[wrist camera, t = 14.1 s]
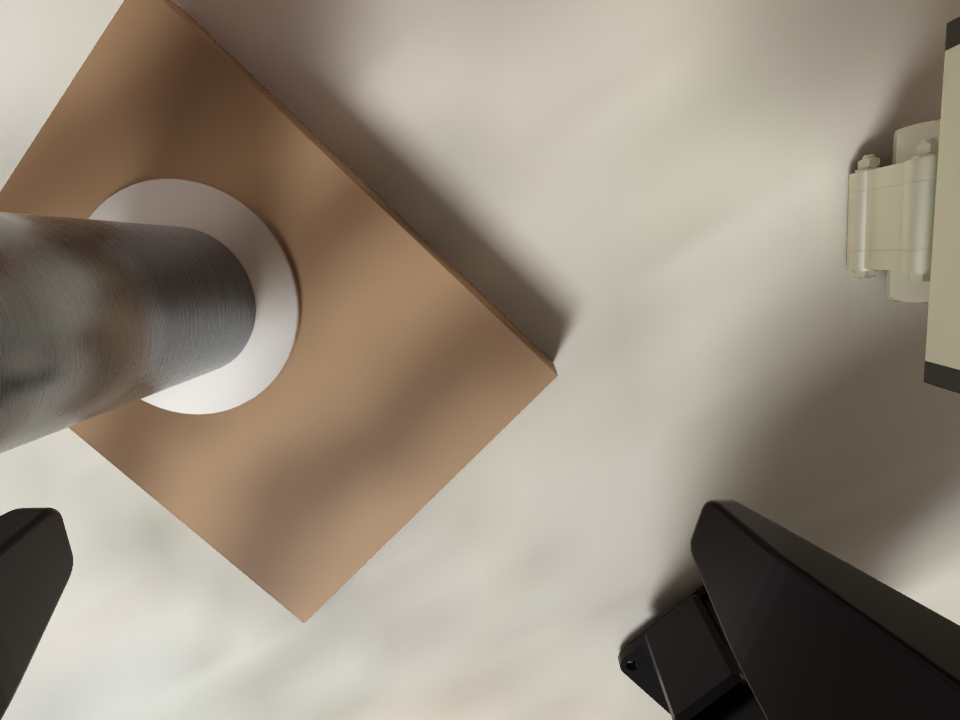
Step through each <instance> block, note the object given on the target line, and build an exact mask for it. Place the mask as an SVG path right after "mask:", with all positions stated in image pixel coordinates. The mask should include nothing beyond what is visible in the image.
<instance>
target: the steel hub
mask: <svg viewBox="0 0 960 720" xmlns="http://www.w3.org/2000/svg"><path fill="white" fill-rule="evenodd" d="M255 315H256V305H255V296H254V291H253V288H252V285H251V282H250V279H249V277H248V275H247V272H246V270H245V269H244V267H243V266H242V264H241V262H240V261H239V260H238V259H237V257H236V256H235V255H234V254H233V253H232V252H231V251H230V250H229V249H228V248H227V247H226V246H225V245H224V244H222V243H221V242H220V241H219V240H217V239H215V238H214V237H212V236H210V235H208V234H206V233H204V232H202V231H199V230H195V229H192V228H187V227H179V226H167V225H154V224H142V223H130V222H118V221H105V220H93V219H81V218H68V217H56V216H44V215H31V214H19V213H7V212H0V453H3V452H5V451H8V450H10V449H13V448H15V447H18V446H21V445H23V444H26V443H28V442H31V441H34V440H36V439H39V438H41V437H44V436H46V435H49V434H52V433H54V432H57V431H59V430H62V429H65V428H67V427H70V426H72V425H75V424H77V423H80V422H83V421H85V420H88V419H90V418H93V417H95V416H98V415H101V414H103V413H106V412H108V411H111V410H114V409H116V408H119V407H121V406H124V405H126V404H129V403H132V402H134V401H137V400H139V399H142V398H144V397H147V396H150V395H152V394H155V393H157V392H160V391H163V390H165V389H168V388H170V387H173V386H175V385H178V384H181V383H183V382H186V381H188V380H191V379H194V378H196V377H199V376H201V375H204V374H206V373H209V372H212V371H214V370H217V369H219V368H222V367H223V366H225V365H227V364H229V363H230V362H231V361H232V360H234V359H235V358H236V357H237V356H238V355H239V354H240V353H241V352H242V350H243V349H244V347H245V346H246V345H247V343H248V341H249V339H250V337H251V334H252V331H253V328H254V323H255Z"/></svg>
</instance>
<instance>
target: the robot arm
mask: <svg viewBox="0 0 960 720" xmlns="http://www.w3.org/2000/svg"><path fill="white" fill-rule="evenodd" d="M691 552H692V556H693V559H694V561H695V563H696V566H697V568H698V571H699V573H700V576H701V578H702V581H703V583H704V585H703V586H702V587H700V588H699V589H698V590H697V591H696V592H694V593H693V594H692V595H691V596H689V597H688V598H687V599H686V600H684V601H683V602H682V603H681V604H679V605H678V606H677V607H676V608H674V609H673V610H672V611H671V612H669V613H668V614H667V615H666V616H664V617H663V618H662V619H661V620H659V621H658V622H657V623H656V624H654V625H653V626H652V627H651V628H649V629H648V630H647V631H646V632H644V633H643V634H642V635H641V636H639V637H638V638H637V639H636V640H634V641H633V642H632V643H631V644H629V645H628V646H627V647H626V648H624V649H623V650H622V651H621V652H620V653H619V656H618V659H619V664H620V668H621V670H622V671H623V673H625V674H626V675H627V676H628V677H629V678H630V679H631V680H632V681H634V682H635V683H636V684H637V685H638V686H639V687H640V688H641V689H643V690H644V691H645V692H646V693H647V694H648V695H649V696H650V697H652V698H653V699H654V700H655V701H656V702H657V703H658V704H659V705H661V706H662V707H663V708H664V709H665V710H666V711H667V712H668V713H670V714H671V716H672V719H673V720H960V626H959V625H957V624H956V623H954V622H952V621H950V620H948V619H947V618H945V617H943V616H941V615H939V614H938V613H936V612H934V611H932V610H930V609H929V608H927V607H925V606H923V605H921V604H920V603H918V602H916V601H914V600H912V599H911V598H909V597H907V596H905V595H903V594H902V593H900V592H898V591H896V590H894V589H893V588H891V587H889V586H887V585H885V584H884V583H882V582H880V581H878V580H876V579H875V578H873V577H871V576H869V575H868V574H866V573H864V572H862V571H860V570H859V569H857V568H855V567H853V566H851V565H850V564H848V563H846V562H844V561H842V560H841V559H839V558H837V557H835V556H833V555H832V554H830V553H828V552H826V551H824V550H823V549H821V548H819V547H817V546H815V545H814V544H812V543H810V542H808V541H806V540H805V539H803V538H801V537H799V536H797V535H796V534H794V533H792V532H790V531H788V530H787V529H785V528H783V527H781V526H779V525H778V524H776V523H774V522H772V521H771V520H769V519H767V518H765V517H763V516H762V515H760V514H758V513H756V512H754V511H753V510H751V509H749V508H747V507H745V506H744V505H742V504H740V503H738V502H736V501H733V500H710V501H708V502H707V503H706V504H705V505H704V506H703V508H702V511H701V513H700V516H699V519H698V521H697V524H696V527H695V530H694V532H693V535H692V538H691ZM72 567H73V555H72V551H71V547H70V544H69V540H68V537H67V533H66V530H65V526H64V523H63V519H62V516H61V514H60V513H59V512H58V511H57V510H56V509H53V508H20V509H15V510H12V511H10V512H8V513H6V514H4V515H2V516H0V720H1V719H2V717H3V715H4V713H5V711H6V710H7V708H8V706H9V704H10V702H11V700H12V698H13V696H14V694H15V692H16V690H17V688H18V686H19V684H20V682H21V680H22V678H23V676H24V674H25V672H26V670H27V667H28V665H29V663H30V661H31V659H32V657H33V655H34V652H35V650H36V648H37V646H38V644H39V642H40V640H41V637H42V635H43V633H44V631H45V629H46V627H47V625H48V622H49V620H50V618H51V616H52V614H53V612H54V610H55V607H56V605H57V603H58V601H59V599H60V597H61V595H62V593H63V590H64V588H65V586H66V584H67V582H68V580H69V577H70V575H71V571H72ZM630 660H635V662H633V663H628V661H630Z"/></svg>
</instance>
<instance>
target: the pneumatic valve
mask: <svg viewBox="0 0 960 720" xmlns="http://www.w3.org/2000/svg"><path fill="white" fill-rule="evenodd" d="M846 269H852V271H854V278H870V277H875V270H887V283H886V296H887V299H888V300H890V301H896V302H916V303H926V302H929V306H928V321H927V337H926V352H925V368H924V383H928V384H931V385H934V386H937V387H940V388H943V389H947V390H950V391H953V392H956V393H959V394H960V17H958V18H956V19H954V20H952V21H950V22H949V23H947V26H946V42H945V57H944V73H943V89H942V104H941V119H936V120H931V121H927V122H922V123H918V124H914V125H911V126H907V127H904V128H901V129H898V130H896V131H895V134H894V138H893V156H892V165H890V166H885V167H882V166H880V158H875V154H870V155H865V156H863V157H862V160H860V161H858V170H855V173H853V174H849V204H848V236H847V267H846Z"/></svg>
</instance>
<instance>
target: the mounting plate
mask: <svg viewBox="0 0 960 720" xmlns="http://www.w3.org/2000/svg"><path fill="white" fill-rule="evenodd" d="M0 212H7V213H19V214H31V215H44V216H56V217H68V218H81V219H93V220H105V221H118V222H130V223H142V224H154V225H167V226H179V227H187V228H192V229H195V230H199V231H202V232H204V233H206V234H208V235H210V236H212V237H214V238H215V239H217V240H219V241H220V242H221V243H222V244H224V245H225V246H226V247H227V248H228V249H229V250H230V251H231V252H232V253H233V254H234V255H235V256H236V257H237V259H238V260H239V261H240V262H241V264H242V266H243V267H244V269H245V270H246V272H247V275H248V277H249V279H250V282H251V285H252V288H253V291H254V296H255V305H256V315H255V323H254V328H253V331H252V334H251V337H250V339H249V341H248V343H247V345H246V346H245V347H244V349H243V350H242V352H241V353H240V354H239V355H238V356H237V357H236V358H235V359H234V360H232V361H231V362H230V363H229V364H227V365H225V366H223V367H222V368H219V369H217V370H214V371H212V372H209V373H206V374H204V375H201V376H199V377H196V378H194V379H191V380H188V381H186V382H183V383H181V384H178V385H175V386H173V387H170V388H168V389H165V390H163V391H160V392H157V393H155V394H152V395H150V396H147V397H144V398H142V399H139V400H137V401H134V402H132V403H129V404H126V405H124V406H121V407H119V408H116V409H114V410H111V411H108V412H106V413H103V414H101V415H98V416H95V417H93V418H90V419H88V420H85V421H83V422H80V423H77V424H75V425H72V426H70V427H69V428H70V429H71V430H72V431H73V432H75V433H76V434H77V435H78V436H79V437H81V438H82V439H83V440H84V441H85V442H87V443H88V444H89V445H90V446H91V447H93V448H94V449H95V450H96V451H98V452H99V453H100V454H101V455H102V456H104V457H105V458H106V459H107V460H108V461H110V462H111V463H112V464H113V465H114V466H116V467H117V468H118V469H119V470H120V471H122V472H123V473H124V474H125V475H126V476H128V477H129V478H130V479H131V480H132V481H134V482H135V483H136V484H137V485H138V486H140V487H141V488H142V489H143V490H144V491H146V492H147V493H148V494H149V495H150V496H152V497H153V498H154V499H155V500H156V501H158V502H159V503H160V504H161V505H162V506H164V507H165V508H166V509H167V510H168V511H170V512H171V513H172V514H173V515H174V516H176V517H177V518H178V519H179V520H181V521H182V522H183V523H184V524H185V525H187V526H188V527H189V528H190V529H191V530H193V531H194V532H195V533H196V534H197V535H199V536H200V537H201V538H202V539H203V540H205V541H206V542H207V543H208V544H209V545H211V546H212V547H213V548H214V549H215V550H217V551H218V552H219V553H220V554H221V555H223V556H224V557H225V558H226V559H227V560H229V561H230V562H231V563H232V564H233V565H235V566H236V567H237V568H238V569H239V570H241V571H242V572H243V573H244V574H245V575H247V576H248V577H249V578H250V579H251V580H253V581H254V582H255V583H256V584H257V585H259V586H260V587H261V588H262V589H264V590H265V591H266V592H267V593H268V594H270V595H271V596H272V597H273V598H274V599H276V600H277V601H278V602H279V603H280V604H282V605H283V606H284V607H285V608H286V609H288V610H289V611H290V612H291V613H292V614H294V615H295V616H296V617H297V618H298V619H300V620H301V621H302V622H303V623H305V622H306V621H307V620H308V619H309V618H310V617H311V616H312V615H313V614H314V613H315V612H316V611H317V610H318V609H319V608H320V607H322V606H323V605H324V604H325V603H326V602H327V601H328V600H329V599H330V598H331V597H332V596H333V595H334V594H335V593H336V592H337V591H338V590H339V589H340V588H341V587H342V586H343V585H344V584H345V583H346V582H347V581H348V580H349V579H350V578H351V577H352V576H353V575H354V574H355V573H356V572H357V571H358V570H359V569H360V568H361V567H362V566H363V565H364V564H365V563H366V562H368V561H369V560H370V559H371V558H372V557H373V556H374V555H375V554H376V553H377V552H378V551H379V550H380V549H381V548H382V547H383V546H384V545H385V544H386V543H387V542H388V541H389V540H390V539H391V538H392V537H393V536H394V535H395V534H396V533H397V532H398V531H399V530H400V529H401V528H402V527H403V526H404V525H405V524H406V523H407V522H408V521H409V520H410V519H411V518H413V517H414V516H415V515H416V514H417V513H418V512H419V511H420V510H421V509H422V508H423V507H424V506H425V505H426V504H427V503H428V502H429V501H430V500H431V499H432V498H433V497H434V496H435V495H436V494H437V493H438V492H439V491H440V490H441V489H442V488H443V487H444V486H445V485H446V484H447V483H448V482H449V481H450V480H451V479H452V478H453V477H454V476H455V475H456V474H458V473H459V472H460V471H461V470H462V469H463V468H464V467H465V466H466V465H467V464H468V463H469V462H470V461H471V460H472V459H473V458H474V457H475V456H476V455H477V454H478V453H479V452H480V451H481V450H482V449H483V448H484V447H485V446H486V445H487V444H488V443H489V442H490V441H491V440H492V439H493V438H494V437H495V436H496V435H497V434H498V433H499V432H500V431H501V430H502V429H504V428H505V427H506V426H507V425H508V424H509V423H510V422H511V421H512V420H513V419H514V418H515V417H516V416H517V415H518V414H519V413H520V412H521V411H522V410H523V409H524V408H525V407H526V406H527V405H528V404H529V403H530V402H531V401H532V400H533V399H534V398H535V397H536V396H537V395H538V394H539V393H540V392H541V391H542V390H543V389H544V388H545V387H546V386H547V385H549V384H550V383H551V382H552V381H553V380H554V379H555V378H556V377H557V376H558V375H557V372H556V369H555V366H554V363H553V362H552V361H551V360H550V359H549V358H548V357H547V356H545V355H544V354H543V353H542V352H541V351H540V350H539V349H538V348H537V347H536V346H535V345H534V344H533V343H532V342H531V341H530V340H529V339H528V338H527V337H526V336H524V335H523V334H522V333H521V332H520V331H519V330H518V329H517V328H516V327H515V326H514V325H513V324H512V323H511V322H510V321H509V320H508V319H507V318H506V317H505V316H503V315H502V314H501V313H500V312H499V311H498V310H497V309H496V308H495V307H494V306H493V305H492V304H491V303H490V302H489V301H488V300H487V299H486V298H485V297H484V296H482V295H481V294H480V293H479V292H478V291H477V290H476V289H475V288H474V287H473V286H472V285H471V284H470V283H469V282H468V281H467V280H466V279H465V278H464V277H463V276H461V275H460V274H459V273H458V272H457V271H456V270H455V269H454V268H453V267H452V266H451V265H450V264H449V263H448V262H447V261H446V260H445V259H444V258H443V257H442V256H440V255H439V254H438V253H437V252H436V251H435V250H434V249H433V248H432V247H431V246H430V245H429V244H428V243H427V242H426V241H425V240H424V239H423V238H422V237H421V236H420V235H418V234H417V233H416V232H415V231H414V230H413V229H412V228H411V227H410V226H409V225H408V224H407V223H406V222H405V221H404V220H403V219H402V218H401V217H400V216H399V215H397V214H396V213H395V212H394V211H393V210H392V209H391V208H390V207H389V206H388V205H387V204H386V203H385V202H384V201H383V200H382V199H381V198H380V197H379V196H378V195H376V194H375V193H374V192H373V191H372V190H371V189H370V188H369V187H368V186H367V185H366V184H365V183H364V182H363V181H362V180H361V179H360V178H359V177H358V176H357V175H355V174H354V173H353V172H352V171H351V170H350V169H349V168H348V167H347V166H346V165H345V164H344V163H343V162H342V161H341V160H340V159H339V158H338V157H337V156H336V155H334V154H333V153H332V152H331V151H330V150H329V149H328V148H327V147H326V146H325V145H324V144H323V143H322V142H321V141H320V140H319V139H318V138H317V137H316V136H315V135H313V134H312V133H311V132H310V131H309V130H308V129H307V128H306V127H305V126H304V125H303V124H302V123H301V122H300V121H299V120H298V119H297V118H296V117H295V116H294V115H292V114H291V113H290V112H289V111H288V110H287V109H286V108H285V107H284V106H283V105H282V104H281V103H280V102H279V101H278V100H277V99H276V98H275V97H274V96H273V95H271V94H270V93H269V92H268V91H267V90H266V89H265V88H264V87H263V86H262V85H261V84H260V83H259V82H258V81H257V80H256V79H255V78H254V77H253V76H252V75H250V74H249V73H248V72H247V71H246V70H245V69H244V68H243V67H242V66H241V65H240V64H239V63H238V62H237V61H236V60H235V59H234V58H233V57H232V56H231V55H229V54H228V53H227V52H226V51H225V50H224V49H223V48H222V47H221V46H220V45H219V44H218V43H217V42H216V41H215V40H214V39H213V38H212V37H211V36H210V35H208V34H207V33H206V32H205V31H204V30H203V29H202V28H201V27H200V26H199V25H198V24H197V23H196V22H195V21H194V20H193V19H192V18H191V17H190V16H189V15H187V14H186V13H185V12H184V11H183V10H182V9H181V8H180V7H178V6H177V5H176V4H174V3H173V2H172V1H170V0H124V2H123V3H122V5H121V6H120V8H119V9H118V11H117V13H116V14H115V16H114V17H113V19H112V20H111V22H110V23H109V25H108V26H107V28H106V30H105V31H104V33H103V34H102V36H101V37H100V39H99V40H98V42H97V43H96V45H95V47H94V48H93V50H92V51H91V53H90V54H89V56H88V57H87V59H86V60H85V62H84V64H83V65H82V67H81V68H80V70H79V71H78V73H77V74H76V76H75V77H74V79H73V81H72V82H71V84H70V85H69V87H68V88H67V90H66V91H65V93H64V94H63V96H62V98H61V99H60V101H59V102H58V104H57V105H56V107H55V108H54V110H53V111H52V113H51V115H50V116H49V118H48V119H47V121H46V122H45V124H44V125H43V127H42V128H41V130H40V132H39V133H38V135H37V136H36V138H35V139H34V141H33V142H32V144H31V145H30V147H29V149H28V150H27V152H26V153H25V155H24V156H23V158H22V159H21V161H20V162H19V164H18V166H17V167H16V169H15V170H14V172H13V173H12V175H11V176H10V178H9V179H8V181H7V183H6V184H5V186H4V187H3V189H2V190H1V192H0Z"/></svg>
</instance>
